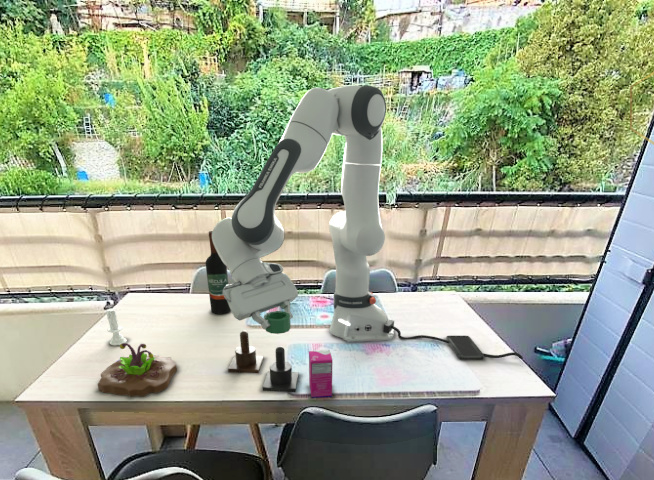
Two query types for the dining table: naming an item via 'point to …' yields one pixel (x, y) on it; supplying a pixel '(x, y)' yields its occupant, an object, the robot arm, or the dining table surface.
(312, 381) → the supplement box
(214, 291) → the wine bottle
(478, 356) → the phone
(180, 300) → the dining table surface
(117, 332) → the candle
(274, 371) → the black stand
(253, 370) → the walnut stand
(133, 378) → the plant
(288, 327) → the ring
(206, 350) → the dining table surface
